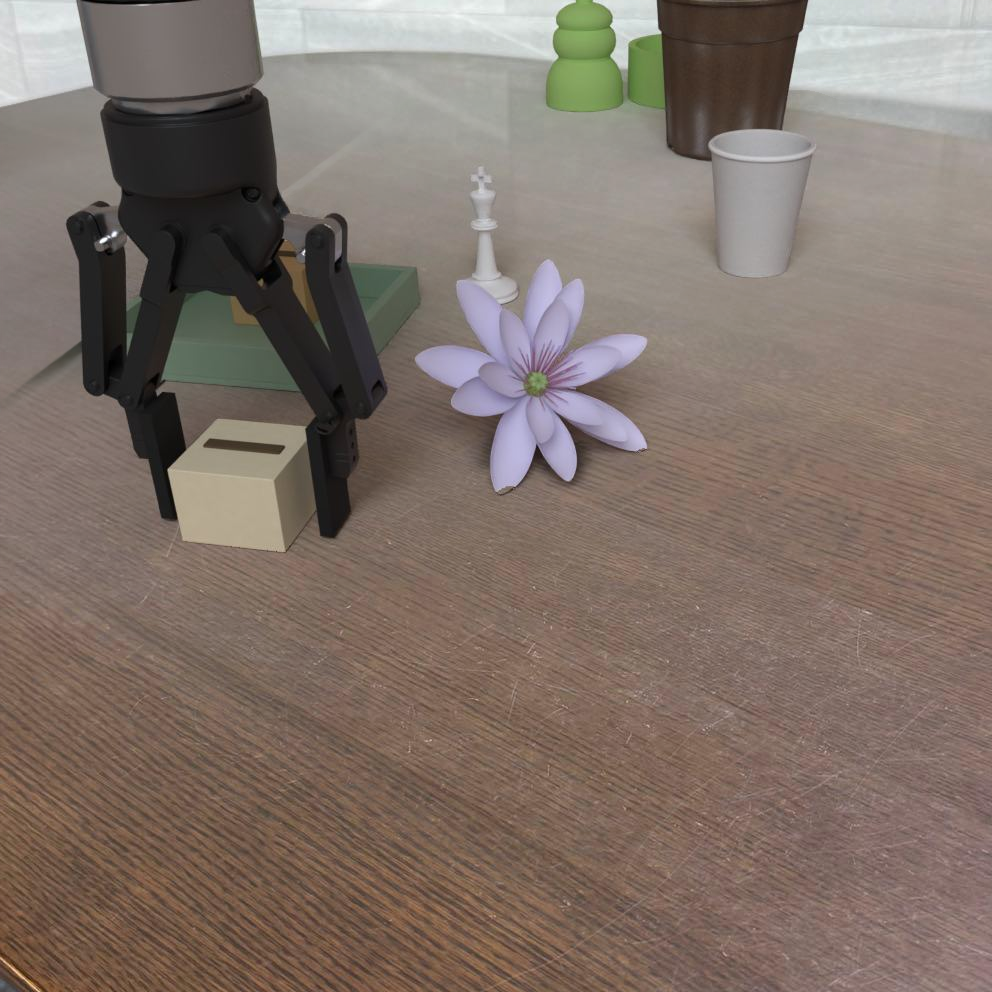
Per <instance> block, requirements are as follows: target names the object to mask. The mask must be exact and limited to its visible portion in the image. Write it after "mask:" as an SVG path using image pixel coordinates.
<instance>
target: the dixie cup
mask: <svg viewBox="0 0 992 992" xmlns="http://www.w3.org/2000/svg"><path fill="white" fill-rule="evenodd" d="M708 147H709V149H710V151H711V154H712V161H711V167H712V168H711V169H712V183H713V185H712V186H713V201H714V203H713V204H714V218H715V233H716V235H715V236H716V240H715V241H716V252H717V265H718V268H719V269H720V270H721V271H722V272H724V273H726V274H728V275H731V276H734V277H741V278H747V279H764V278H771V277H775V276H779V275H781V274H784V273H785V272H786V271H787V270H788V267H789V262H790V258H791V253H792V248H793V244H794V239H795V235H796V231H797V227H798V222H799V217H800V213H801V209H802V204H803V199H804V195H805V191H806V186H807V181H808V177H809V172H810V168H811V164H812V158H813V154H815V152H817V149H818V145H817V143H816V142H815V141H814V140H813V139H812V138H811V137H809V136H807V135H804V134H801V133H798V132H794V131H788V130H783V129H782V130H771V129H747V130H737V131H730V132H726V133H722V134H719V135H717V136H715V137H714V138H713V139H711V140H710V142H709V144H708Z"/></svg>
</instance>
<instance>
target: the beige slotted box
mask: <svg viewBox="0 0 992 992" xmlns="http://www.w3.org/2000/svg"><path fill="white" fill-rule="evenodd" d="M307 426H308V425H296V424H285V423H275V422H263V421H250V420H241V419H240V420H239V419H229V418H217V419H216V420H214V422H212V423H211V424H210V425H209V427H208V428H207V429H206V430H205V431H204V432H203V433H202V434H200V435H199V437H198V438H197V439H196V440H195V441H194V442H193V443H191V445H190V446H189V447H188V448H186V449H187V450H186V451H185V452H184V453H183V454H182V455H181V456H180V457H179V458H178V459H177V460H176V461H175V462H174V463H173V464H172V465H171V466H170V467H169V468H168V475H169V479H170V484H171V489H172V493H173V498H174V503H175V507H176V512H177V521H178V525H179V530H180V535H181V539H182V542H186V541H187V542H188V543H195V544H205V545H212V546H220V547H221V546H222V547H224V546H225V547H231V546H232V547H231V548H239V547H240V548H241V549H249V550H258V551H267V550H268V551H267V552H275V553H283V552H285V553H286V552H287V551H288V550H289V548H290V547H291V546H292V544H293V543H294V541H295V540H296V539H297V537H298V536H299V535H300V533H301V532H302V531H303V529H304V528H305V526H307V524H308V522H309V521H310V519H311V518H312V517H313V515H314V514H315V513H316V512H317V510H316V503H315V496H314V489H313V482H312V474H311V467H310V460H309V453H308V446H307V439H306V432H305V428H306V427H307ZM187 542H186V543H187ZM289 546H290V547H289ZM286 550H287V551H286ZM276 551H277V552H276Z"/></svg>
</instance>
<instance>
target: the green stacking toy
mask: <svg viewBox="0 0 992 992" xmlns="http://www.w3.org/2000/svg"><path fill="white" fill-rule="evenodd" d="M613 19H614V17H613V14H612V12H611V10H610V9H609V8H607V7H606V6H605V5H604V4H601V3H598V2H595V1H594V0H575V2H571V3H568V4H566V5H565V6H563V7H562V8H561V9H560V10H559V11H558V12H557V13H556V15H555V24H556V26H558V27H557V28H556V29H555V30H554V33H553V35H552V47H553V50H554V52H555V54H556V55H557V56H558V57H557V58H556V60H554V62H553V63H552V64H551V66H550V68H549V71H548V73H547V76H546V81H545V83H546V84H545V99H546V100H545V101H546V102H545V103H546V106H547V107H549V108H552V109H555V110H559V111H565V112H574V113H575V112H579V113H580V112H581V113H585V112H586V113H587V112H590V113H591V112H600V111H607V110H612V109H615V108H618V107H620V106H621V105H622V104H623V103H624V102H623V101H624V98H623V97H624V86H623V85H624V83H623V76H622V72H621V70H620V68H619V65H618V64H617V61H615V60H614V58H612V57H611V55H612V54H613V52H614V51H615V48H616V47H617V46H616V45H617V35H616V32H615V30H614V28H612V26H611V25H612V24H613V21H614V20H613ZM627 44H628V48H627V50H628V51H627V52H628V53H627V98H628V99H629V100H630V101H631V102H633V103H635V104H638V105H640V106H641V105H642V106H645V107H650V108H657V109H665V93H664V73H663V55H662V36H661V33H656V34H655V33H654V34H650V35H645V36H639V37H637V38H634V39H632V40H630V41H629V42H628V43H627Z"/></svg>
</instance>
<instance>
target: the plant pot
mask: <svg viewBox="0 0 992 992" xmlns="http://www.w3.org/2000/svg"><path fill="white" fill-rule="evenodd" d="M808 4H809V0H656V13H657V28H658V30H659V31H660V34H661V36H662V55H663V73H664V93H665V111H664V112H665V132H666V133H665V135H666V136H665V138H666V139H665V141H666V146H667V147H668V148H669V149H673V150H674V153H676V154H677V155H680V156H685V157H687V158H692V159H696V160H700V161H709V162H712V154H711V151H710V149H709V147H708V144H709V142H710V140H711V139H713V138H714V137H715V136H717V135H719V134H722V133H726V132H730V131H737V130H747V129H771V130H782V131H783V127H784V119H785V114H786V109H787V102H788V98H789V97H788V96H789V92H790V91H789V90H790V86H791V85H790V84H791V79H792V74H793V69H794V63H795V58H796V52H797V47H798V41H799V36H800V33H801V32H802V31H803V30H804V25H805V19H806V14H807V10H808Z"/></svg>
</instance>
